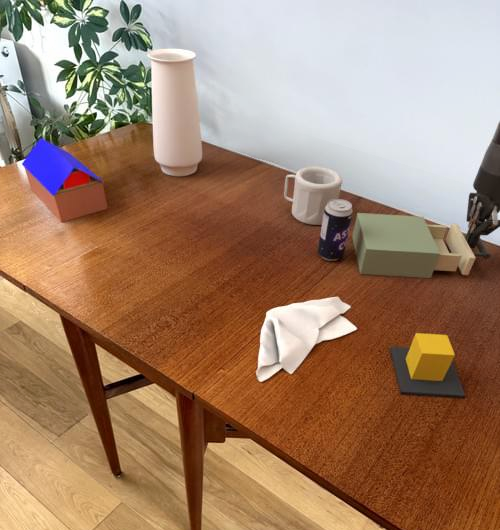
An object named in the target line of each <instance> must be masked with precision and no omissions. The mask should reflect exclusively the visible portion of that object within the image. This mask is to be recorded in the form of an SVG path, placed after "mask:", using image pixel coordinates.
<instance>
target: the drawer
mask: <svg viewBox="0 0 500 530" xmlns="http://www.w3.org/2000/svg"><path fill="white" fill-rule="evenodd" d="M426 224H427V223H426ZM427 226H428V228H429V230H430V232H431V235H432V237H433V239H434V241H435V243H436V246H437V248H438V250H439V252H440V255H439V258H438V260H437V263H436V266H435V268H434V271H444V272H445V271H446V272H457V269H459V271H460V273H461V275H462V276H469V274H470V272H471V270H472V268H473V265H474V263H475V261H476V259H477V257H478V258H479V257H480V258H483V260H489V259H490V257H491V253H490V252H489V250H488V248H487V247H486V245H485V244H484V241H483V240H482V238H481V237H480V238H479V240H478V243H477V245H476V248H477V250H478V251H479V252H473V250H472V249H471V248H470V246H469V245H468V243H467V241H466V239H465V237H466V236H464V233H463V232H462V230H461V228H460V226H459V225H458V223H451V225H450V228H449V229H448V226H447V225H445V224H443V225H442V224H441V225H439V224H427ZM447 229H448V233H447V235H446V238H445V241H444V237H445V234H446V232H447ZM445 242H446V243H445ZM446 244H447V245H446ZM447 246H448V247H447ZM448 248H449V250H448Z"/></svg>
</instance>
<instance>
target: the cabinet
mask: <svg viewBox="0 0 500 530" xmlns="http://www.w3.org/2000/svg"><path fill="white" fill-rule="evenodd" d="M425 219H426V218H425V217H424V216H418V215H400V214H399V215H398V214H386V213H385V214H384V213H383V214H382V213H365V212H357V213H356V217H355V221H354V227H353V231H352V234H351V237H352V242H353V246H354V252H355V256H356V261H357V264H358V265H357V266H358V270H359V274H360V275H371V276H386V277H402V278H403V277H404V278H421V279H431V278H432V275H433V273H434V271H435V270H434V268H435V266H436V263H437V260H438V258H439V255H440V252H439V250H438V248H437V246H436V243H435V241H434V239H433V237H432V235H431V232H430V230H429V228H428V226H427V221H426V220H425Z"/></svg>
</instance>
